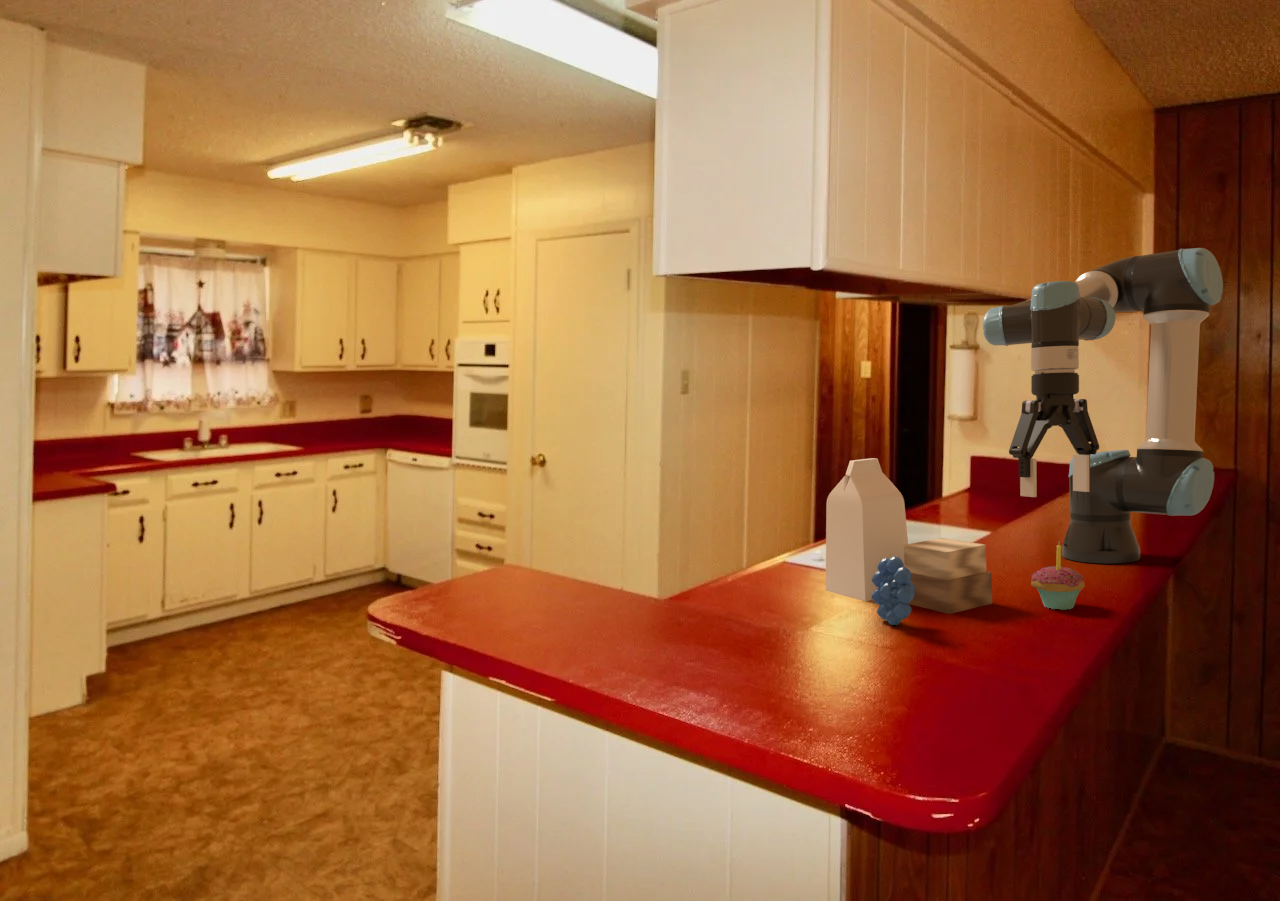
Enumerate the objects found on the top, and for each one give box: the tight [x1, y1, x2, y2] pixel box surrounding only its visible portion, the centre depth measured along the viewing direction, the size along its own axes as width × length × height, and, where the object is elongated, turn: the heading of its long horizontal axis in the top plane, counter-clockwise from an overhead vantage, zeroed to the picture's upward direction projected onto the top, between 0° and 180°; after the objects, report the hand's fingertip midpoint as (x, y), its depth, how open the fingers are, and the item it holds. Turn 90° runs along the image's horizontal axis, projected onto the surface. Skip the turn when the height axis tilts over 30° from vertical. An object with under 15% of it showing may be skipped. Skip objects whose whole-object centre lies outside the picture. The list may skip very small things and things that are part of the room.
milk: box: [825, 457, 909, 602], centre depth 173 cm, size 12×12×26 cm
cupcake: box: [1030, 540, 1086, 611], centre depth 155 cm, size 9×8×12 cm
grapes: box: [871, 556, 915, 626], centre depth 149 cm, size 12×7×12 cm, turn 14°
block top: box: [904, 537, 987, 580], centre depth 162 cm, size 10×10×5 cm
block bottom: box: [908, 570, 993, 615], centre depth 162 cm, size 11×11×6 cm
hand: (1055, 494), depth 155 cm, fingers open, 13 cm apart
